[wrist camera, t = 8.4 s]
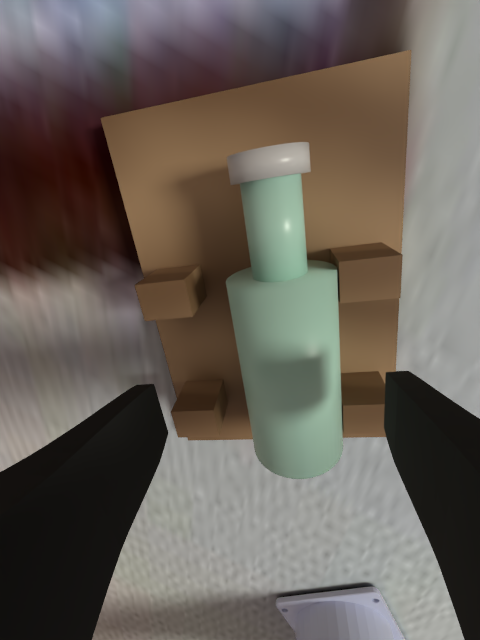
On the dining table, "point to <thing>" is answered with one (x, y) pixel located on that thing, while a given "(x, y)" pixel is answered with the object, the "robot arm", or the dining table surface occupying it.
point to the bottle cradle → (231, 238)
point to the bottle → (285, 319)
